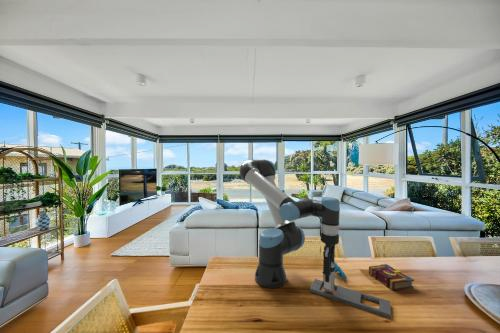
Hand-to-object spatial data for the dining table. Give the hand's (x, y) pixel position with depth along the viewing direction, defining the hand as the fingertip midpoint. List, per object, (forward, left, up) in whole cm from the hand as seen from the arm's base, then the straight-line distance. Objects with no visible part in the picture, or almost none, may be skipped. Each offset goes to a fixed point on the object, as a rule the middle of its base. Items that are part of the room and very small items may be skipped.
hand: (328, 285), depth 94 cm
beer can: (0, 0, -2) cm, 2 cm away
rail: (+8, 0, -3) cm, 8 cm away
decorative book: (+23, +26, -4) cm, 35 cm away
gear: (+1, +17, -3) cm, 17 cm away
